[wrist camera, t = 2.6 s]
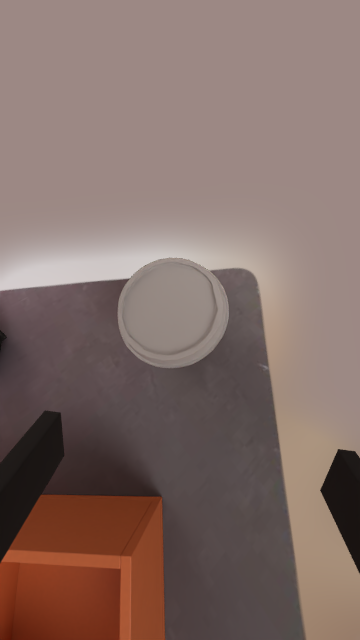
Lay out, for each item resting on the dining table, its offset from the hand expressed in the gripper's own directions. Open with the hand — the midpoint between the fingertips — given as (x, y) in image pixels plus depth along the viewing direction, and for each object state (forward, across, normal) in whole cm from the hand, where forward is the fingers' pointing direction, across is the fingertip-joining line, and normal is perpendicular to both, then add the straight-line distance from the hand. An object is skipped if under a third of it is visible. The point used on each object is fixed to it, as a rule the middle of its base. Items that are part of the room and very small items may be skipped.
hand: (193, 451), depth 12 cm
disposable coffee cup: (+20, -1, -3) cm, 20 cm away
